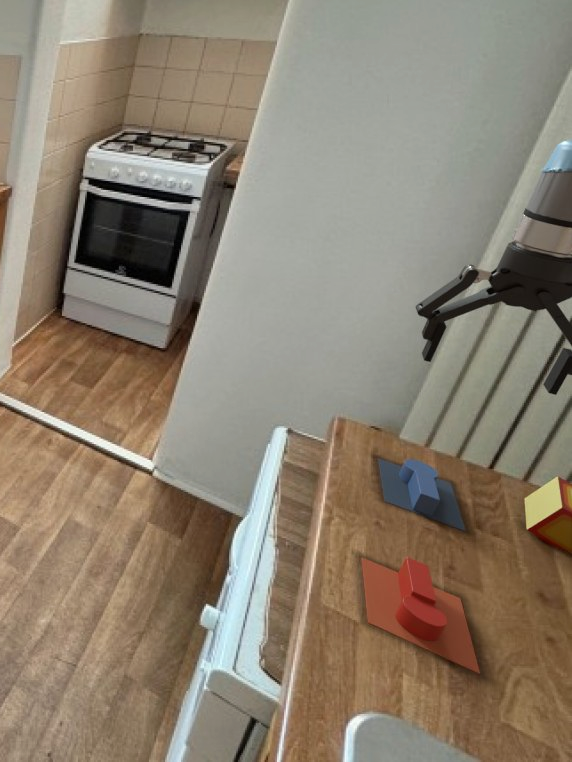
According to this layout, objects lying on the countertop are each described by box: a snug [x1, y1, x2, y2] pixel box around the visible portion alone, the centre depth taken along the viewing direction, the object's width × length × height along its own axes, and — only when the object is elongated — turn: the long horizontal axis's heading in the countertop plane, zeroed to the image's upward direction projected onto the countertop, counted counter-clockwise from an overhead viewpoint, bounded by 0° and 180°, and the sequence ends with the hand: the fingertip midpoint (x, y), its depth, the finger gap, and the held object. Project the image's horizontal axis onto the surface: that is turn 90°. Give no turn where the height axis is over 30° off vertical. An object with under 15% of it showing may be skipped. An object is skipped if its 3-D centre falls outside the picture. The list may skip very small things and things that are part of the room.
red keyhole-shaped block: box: [395, 556, 447, 641], centre depth 84 cm, size 11×4×4 cm, turn 143°
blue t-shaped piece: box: [399, 458, 440, 516], centre depth 104 cm, size 11×4×4 cm, turn 143°
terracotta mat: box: [361, 557, 481, 675], centre depth 84 cm, size 11×13×1 cm
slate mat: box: [377, 458, 467, 532], centre depth 105 cm, size 10×13×1 cm
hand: (485, 373), depth 93 cm, fingers open, 13 cm apart
